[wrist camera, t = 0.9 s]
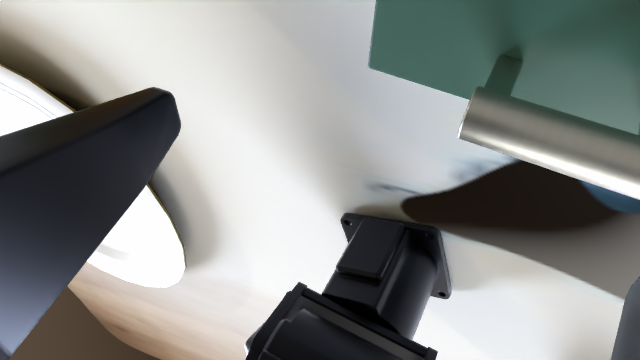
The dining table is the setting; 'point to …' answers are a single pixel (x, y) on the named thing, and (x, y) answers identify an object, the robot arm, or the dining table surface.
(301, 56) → the dining table surface
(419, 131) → the dining table surface
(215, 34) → the dining table surface
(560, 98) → the lid
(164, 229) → the plate
